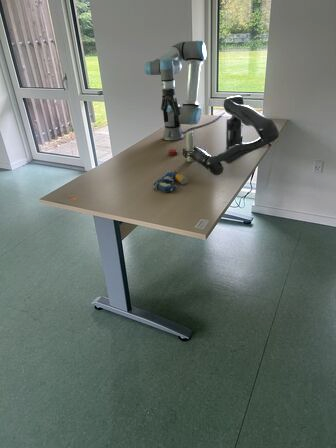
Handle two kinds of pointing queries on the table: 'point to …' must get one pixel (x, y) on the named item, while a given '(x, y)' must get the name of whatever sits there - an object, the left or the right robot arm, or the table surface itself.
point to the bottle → (189, 144)
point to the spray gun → (169, 181)
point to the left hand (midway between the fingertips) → (171, 124)
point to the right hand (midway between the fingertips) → (188, 148)
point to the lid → (172, 152)
